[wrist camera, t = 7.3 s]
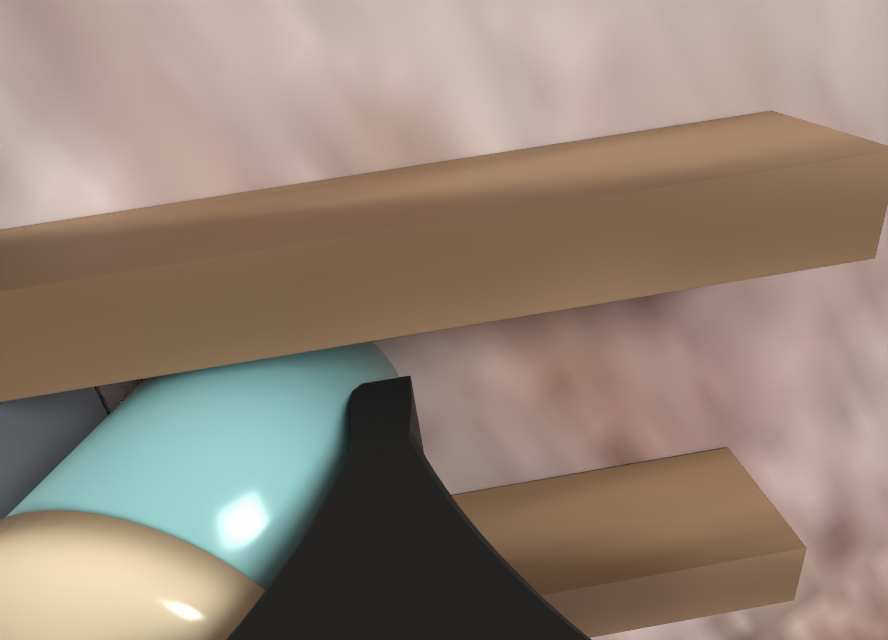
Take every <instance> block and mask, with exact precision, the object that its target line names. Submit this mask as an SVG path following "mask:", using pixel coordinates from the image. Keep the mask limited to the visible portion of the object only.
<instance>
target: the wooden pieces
mask: <svg viewBox="0 0 888 640" xmlns="http://www.w3.org/2000/svg"><path fill="white" fill-rule="evenodd" d="M887 205H888V146H887V145H883V144H880V143H877V142H874V141H870V140H867V139H864V138H860V137H857V136H854V135H850V134H847V133H844V132H840V131H837V130H834V129H831V128H827V127H824V126H821V125H817V124H814V123H811V122H807V121H804V120H801V119H797V118H794V117H791V116H788V115H784V114H781V113H778V112H774V111H767V112H761V113H754V114H748V115H741V116H735V117H728V118H722V119H715V120H709V121H702V122H696V123H689V124H683V125H676V126H670V127H664V128H657V129H651V130H644V131H638V132H631V133H625V134H618V135H612V136H605V137H599V138H592V139H586V140H579V141H573V142H566V143H560V144H553V145H547V146H540V147H534V148H527V149H521V150H514V151H508V152H501V153H495V154H489V155H482V156H476V157H469V158H463V159H456V160H450V161H443V162H437V163H430V164H424V165H417V166H411V167H404V168H398V169H391V170H385V171H378V172H372V173H365V174H359V175H352V176H346V177H339V178H333V179H327V180H320V181H314V182H307V183H301V184H294V185H288V186H281V187H275V188H268V189H262V190H255V191H249V192H242V193H236V194H229V195H223V196H216V197H210V198H203V199H197V200H190V201H184V202H177V203H171V204H164V205H158V206H152V207H145V208H139V209H132V210H126V211H119V212H113V213H106V214H100V215H93V216H87V217H80V218H74V219H67V220H61V221H54V222H48V223H41V224H35V225H28V226H22V227H15V228H9V229H2V230H0V402H3V401H9V400H15V399H21V398H27V397H33V396H39V395H46V394H52V393H58V392H64V391H70V390H76V389H82V388H88V387H94V386H100V385H107V384H113V383H119V382H125V381H131V380H137V379H143V378H149V377H155V376H161V375H167V374H174V373H180V372H186V371H192V370H198V369H204V368H210V367H216V366H222V365H228V364H235V363H241V362H247V361H253V360H259V359H265V358H271V357H277V356H283V355H289V354H296V353H302V352H308V351H314V350H320V349H326V348H332V347H338V346H344V345H350V344H356V343H363V342H369V341H375V340H381V339H387V338H393V337H399V336H405V335H411V334H417V333H424V332H430V331H436V330H442V329H448V328H454V327H460V326H466V325H472V324H478V323H484V322H491V321H497V320H503V319H509V318H515V317H521V316H527V315H533V314H539V313H545V312H552V311H558V310H564V309H570V308H576V307H582V306H588V305H594V304H600V303H606V302H612V301H619V300H625V299H631V298H637V297H643V296H649V295H655V294H661V293H667V292H673V291H680V290H686V289H692V288H698V287H704V286H710V285H716V284H722V283H728V282H734V281H741V280H747V279H753V278H759V277H765V276H771V275H777V274H783V273H789V272H795V271H801V270H808V269H814V268H820V267H826V266H832V265H838V264H844V263H850V262H856V261H862V260H869V259H875V256H876V251H877V247H878V243H879V239H880V234H881V230H882V226H883V222H884V217H885V213H886V209H887ZM451 496H452V497H453V499H454V500H455V501H456V503H457V504H458V505H459V507H460V508H461V509H462V511H463V512H464V513H465V514H466V516H467V517H468V518H469V519H470V521H471V522H472V523H473V524H474V526H475V527H476V528H477V529H478V530H479V532H480V533H481V534H482V535H483V536H484V537H485V538H486V539H487V541H488V542H489V543H490V544H491V545H492V546H493V547H494V549H495V550H496V551H497V552H498V553H499V554H500V555H501V556H502V557H503V558H504V559H505V560H506V561H507V562H508V563H509V564H510V565H511V566H512V567H513V568H514V569H515V570H516V571H517V572H518V573H519V574H520V575H521V576H522V577H523V578H524V579H525V580H526V581H527V582H528V583H529V584H530V585H531V586H532V587H533V588H534V589H535V590H536V591H537V592H538V593H539V594H540V595H541V596H542V597H543V598H544V599H545V600H546V601H547V602H549V603H550V604H551V605H552V606H553V607H554V608H555V609H556V610H557V611H559V612H560V613H561V614H562V615H563V616H564V617H565V618H566V619H567V620H569V621H570V622H571V623H572V624H573V625H574V626H576V627H577V628H578V629H579V630H580V631H582V632H583V633H584V634H585V635H586V636H588V637H589V638H591V637H596V636H602V635H607V634H613V633H618V632H624V631H629V630H634V629H640V628H645V627H651V626H656V625H662V624H667V623H673V622H678V621H683V620H689V619H694V618H700V617H705V616H711V615H716V614H722V613H727V612H733V611H738V610H743V609H749V608H754V607H760V606H765V605H771V604H776V603H782V602H787V601H792V600H794V599H795V594H796V590H797V586H798V582H799V577H800V573H801V569H802V565H803V560H804V556H805V552H806V546H805V545H804V544H803V542H802V541H801V540H800V539H799V537H798V536H797V535H796V534H795V532H794V531H793V530H792V528H791V527H790V526H789V525H788V523H787V522H786V521H785V520H784V518H783V517H782V516H781V514H780V513H779V512H778V511H777V509H776V508H775V507H774V506H773V504H772V503H771V502H770V500H769V499H768V498H767V497H766V495H765V494H764V493H763V491H762V490H761V489H760V488H759V486H758V485H757V484H756V483H755V481H754V480H753V479H752V477H751V476H750V475H749V474H748V472H747V471H746V470H745V469H744V467H743V466H742V465H741V463H740V462H739V461H738V460H737V458H736V457H735V456H734V455H733V453H732V452H731V451H730V449H729V448H722V449H716V450H710V451H705V452H699V453H693V454H687V455H682V456H676V457H670V458H664V459H659V460H653V461H647V462H641V463H636V464H630V465H624V466H618V467H613V468H607V469H601V470H595V471H589V472H584V473H578V474H572V475H566V476H561V477H555V478H549V479H543V480H538V481H532V482H526V483H520V484H515V485H509V486H503V487H497V488H492V489H486V490H480V491H474V492H469V493H463V494H457V495H451Z"/></svg>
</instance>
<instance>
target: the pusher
mask: <svg viewBox="0 0 888 640" xmlns="http://www.w3.org/2000/svg"><path fill="white" fill-rule="evenodd" d="M107 416H108V414H107V412H106V410H105V408H104V406H103V404H102V402H101V400H100V398H99V396H98V394H97V392H96V389H95V387H88V388H82V389H76V390H70V391H64V392H58V393H52V394H46V395H39V396H33V397H27V398H21V399H15V400H9V401H3V402H0V519H3V518H5V517H6V516H7V515H8V514H9V513H10V512H11V511H12V510H13V509H14V508H15V507H17V506H18V505H19V504H20V503H21V502H22V501H23V500H24V499H25V498H26V497H27V496H28V495H29V494H30V493H31V492H32V491H33V490H34V489H35V488H36V487H37V486H38V485H39V484H40V483H41V482H42V481H43V480H44V479H45V478H46V477H47V476H48V475H49V474H50V473H51V472H52V471H53V470H54V469H55V468H56V467H57V466H58V465H59V464H60V463H61V462H62V461H63V460H64V459H65V458H66V457H67V456H68V455H69V454H70V453H71V452H72V451H73V450H74V449H75V448H76V447H77V446H78V445H79V444H80V443H81V442H82V441H83V440H84V439H85V438H86V437H87V436H88V435H89V434H90V433H91V432H92V431H93V430H94V429H95V428H96V427H97V426H98V425H99V424H100V423H101V422H102V421H103V420H104V419H105V418H106V417H107Z"/></svg>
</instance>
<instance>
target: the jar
mask: <svg viewBox="0 0 888 640" xmlns="http://www.w3.org/2000/svg"><path fill="white" fill-rule="evenodd" d="M393 378H399V376H398V374H397V372H396V370H395V369H394V367H393V366H392V364H391V363H390V361H389V360H388V359H387V357H386V356H385V355H384V354H383V353H382V352H381V350H380V349H379V348H378V347H377V346H376V345H375V344H374V343H373V342H372V341H369V342H363V343H356V344H350V345H344V346H338V347H332V348H326V349H320V350H314V351H308V352H302V353H296V354H289V355H283V356H277V357H271V358H265V359H259V360H253V361H247V362H241V363H235V364H228V365H222V366H216V367H210V368H204V369H198V370H192V371H186V372H180V373H174V374H167V375H161V376H155V377H149V378H145V379H144V380H143V381H142V382H141V383H140V384H139V385H138V386H137V387H136V388H135V389H134V390H133V391H132V392H131V393H130V394H129V395H128V396H127V397H126V398H125V399H124V400H123V401H122V402H121V403H120V404H119V405H118V406H117V407H116V408H115V409H114V410H113V411H112V412H111V413H110V414H109V415H108V416H107V417H106V418H105V419H104V420H103V421H102V422H101V423H100V424H99V425H98V426H97V427H96V428H95V429H94V430H93V431H92V432H91V433H90V434H89V435H88V436H87V437H86V438H85V439H84V440H83V441H82V442H81V443H80V444H79V445H78V446H77V447H76V448H75V449H74V450H73V451H72V452H71V453H70V454H69V455H68V456H67V457H66V458H65V459H64V460H63V461H62V462H61V463H60V464H59V465H58V466H57V467H56V468H55V469H54V470H53V471H52V472H51V473H50V474H49V475H48V476H47V477H46V478H45V479H44V480H43V481H42V482H41V483H40V484H39V485H38V486H37V487H36V488H35V489H34V490H33V491H32V492H31V493H30V494H29V495H28V496H27V497H26V498H25V499H24V500H23V501H22V502H21V503H20V504H19V505H18V506H17V507H15V508H14V509H13V510H12V511H11V512H10V513H9V514H8V515H7V516H6V517H5V518H3V519H0V640H226V639H227V638H228V636H229V635H230V634H231V633H232V632H233V631H234V629H235V628H236V627H237V626H238V625H239V624H240V622H241V621H242V620H243V619H244V617H245V616H246V615H247V614H248V612H249V611H250V610H251V609H252V607H253V606H254V605H255V603H256V602H257V601H258V599H259V598H260V597H261V595H262V594H263V593H264V591H265V590H266V589H267V587H268V586H269V584H270V583H271V582H272V580H273V579H274V577H275V576H276V575H277V573H278V572H279V570H280V569H281V568H282V566H283V565H284V563H285V562H286V561H287V559H288V558H289V556H290V555H291V553H292V552H293V550H294V548H295V547H296V545H297V544H298V542H299V541H300V539H301V538H302V536H303V535H304V533H305V531H306V530H307V528H308V526H309V525H310V523H311V521H312V520H313V518H314V516H315V515H316V513H317V511H318V509H319V508H320V506H321V504H322V502H323V500H324V498H325V496H326V494H327V493H328V491H329V489H330V487H331V485H332V483H333V481H334V479H335V477H336V475H337V474H338V472H339V469H340V467H341V465H342V463H343V461H344V459H345V456H346V454H347V452H348V450H349V447H350V445H351V443H352V435H351V423H350V410H349V408H350V401H351V395H352V391H353V390H354V389H355V388H357V387H358V386H359V385H360V384H362V383H368V382H374V381H380V380H386V379H393Z"/></svg>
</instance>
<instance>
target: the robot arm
mask: <svg viewBox="0 0 888 640" xmlns="http://www.w3.org/2000/svg"><path fill="white" fill-rule="evenodd" d="M349 410H350V423H351V435H352V443H351V445H350V447H349V450H348V452H347V454H346V456H345V459H344V461H343V463H342V465H341V467H340V469H339V472H338V474H337V475H336V477H335V479H334V481H333V483H332V485H331V487H330V489H329V491H328V493H327V494H326V496H325V498H324V500H323V502H322V504H321V506H320V508H319V509H318V511H317V513H316V515H315V516H314V518H313V520H312V521H311V523H310V525H309V526H308V528H307V530H306V531H305V533H304V535H303V536H302V538H301V539H300V541H299V542H298V544H297V545H296V547H295V548H294V550H293V552H292V553H291V555H290V556H289V558H288V559H287V561H286V562H285V563H284V565H283V566H282V568H281V569H280V570H279V572H278V573H277V575H276V576H275V577H274V579H273V580H272V582H271V583H270V584H269V586H268V587H267V589H266V590H265V591H264V593H263V594H262V595H261V597H260V598H259V599H258V601H257V602H256V603H255V605H254V606H253V607H252V609H251V610H250V611H249V612H248V614H247V615H246V616H245V617H244V619H243V620H242V621H241V622H240V624H239V625H238V626H237V627H236V628H235V629H234V631H233V632H232V633H231V634H230V635H229V636H228V638H227V639H226V640H591V639H590V638H589V637H588V636H586V635H585V634H584V633H583V632H582V631H580V630H579V629H578V628H577V627H576V626H574V625H573V624H572V623H571V622H570V621H569V620H567V619H566V618H565V617H564V616H563V615H562V614H561V613H560V612H559V611H557V610H556V609H555V608H554V607H553V606H552V605H551V604H550V603H549V602H547V601H546V600H545V599H544V598H543V597H542V596H541V595H540V594H539V593H538V592H537V591H536V590H535V589H534V588H533V587H532V586H531V585H530V584H529V583H528V582H527V581H526V580H525V579H524V578H523V577H522V576H521V575H520V574H519V573H518V572H517V571H516V570H515V569H514V568H513V567H512V566H511V565H510V564H509V563H508V562H507V561H506V560H505V559H504V558H503V557H502V556H501V555H500V554H499V553H498V552H497V551H496V550H495V549H494V547H493V546H492V545H491V544H490V543H489V542H488V541H487V539H486V538H485V537H484V536H483V535H482V534H481V533H480V532H479V530H478V529H477V528H476V527H475V526H474V524H473V523H472V522H471V521H470V519H469V518H468V517H467V516H466V514H465V513H464V512H463V511H462V509H461V508H460V507H459V505H458V504H457V503H456V501H455V500H454V499H453V497H452V496H451V495H450V493H449V492H448V490H447V489H446V488H445V486H444V485H443V483H442V482H441V480H440V479H439V477H438V476H437V474H436V473H435V471H434V470H433V468H432V467H431V465H430V463H429V462H428V460H427V459H426V457H425V455H424V451H423V445H422V439H421V434H420V428H419V422H418V417H417V411H416V405H415V399H414V394H413V388H412V382H411V377H410V376H405V377H399V378H393V379H386V380H380V381H374V382H368V383H362V384H360V385H359V386H358V387H357V388H355V389H354V390H353V391H352V395H351V401H350V408H349Z"/></svg>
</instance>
